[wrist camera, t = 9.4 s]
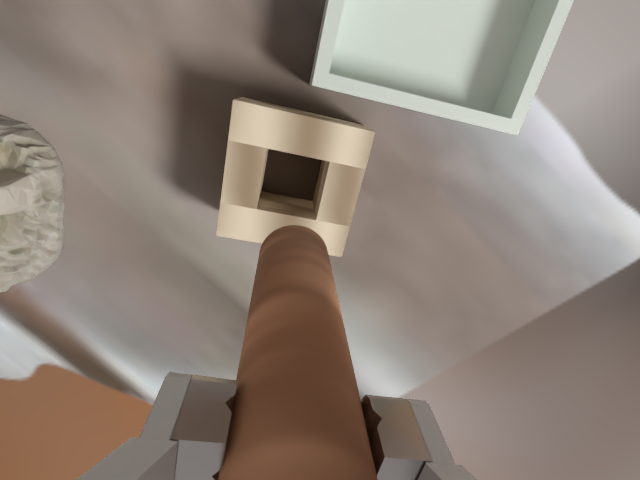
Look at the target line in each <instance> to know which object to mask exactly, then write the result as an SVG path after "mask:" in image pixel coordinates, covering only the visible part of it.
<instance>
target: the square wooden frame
mask: <svg viewBox="0 0 640 480" xmlns="http://www.w3.org/2000/svg"><path fill="white" fill-rule="evenodd" d="M374 136H375V131H373V130H371V129H369V128H368V127H366V126H364V125H362V124H358V123H353V122H349V121H345V120H340V119H336V118H332V117H327V116H323V115H319V114H314V113H310V112H306V111H301V110H297V109H293V108H288V107H284V106H280V105H275V104H271V103H267V102H262V101H258V100H254V99H250V98H245V97H240V98H236V99H233V104H232V112H231V120H230V128H229V136H228V144H227V152H226V160H225V168H224V176H223V185H222V193H221V201H220V209H219V217H218V225H217V233H216V236H222V237H228V238H233V239H239V240H245V241H251V242H257V243H263V242H264V240H265V239H266V237H267V236H268V235H269V234H270V233H272V232H273V231H275V230H276V229H278V228H281V227H284V226H289V225H299V226H304V227H307V228H310V229H312V230H313V231H315V232H316V233H317V234H318V235H320V237H321V238H322V239H323V241H324V242H325V244H326V247H327V251H328V255H333V256H339V257H342V254H343V250H344V246H345V243H346V239H347V235H348V232H349V228H350V224H351V221H352V217H353V213H354V210H355V206H356V202H357V199H358V195H359V191H360V188H361V184H362V180H363V177H364V173H365V169H366V165H367V162H368V158H369V154H370V151H371V147H372V143H373V140H374ZM268 149H272V150H277V151H282V152H286V153H291V154H296V155H301V156H305V157H310V158H315V159H319V160H322V162H321V166H320V171H319V175H318V180H317V184H316V189H315V193H314V197H313V201H310V200H305V199H300V198H295V197H289V196H284V195H279V194H274V193H269V192H263V191H262V186H263V180H264V174H265V168H266V162H267V156H268Z"/></svg>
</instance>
